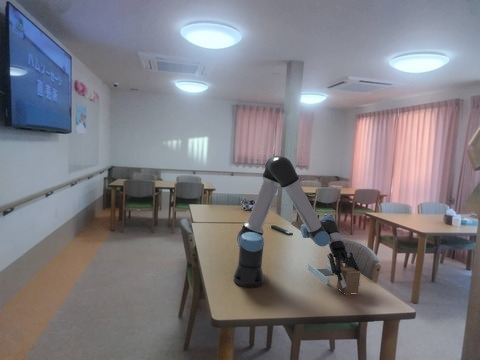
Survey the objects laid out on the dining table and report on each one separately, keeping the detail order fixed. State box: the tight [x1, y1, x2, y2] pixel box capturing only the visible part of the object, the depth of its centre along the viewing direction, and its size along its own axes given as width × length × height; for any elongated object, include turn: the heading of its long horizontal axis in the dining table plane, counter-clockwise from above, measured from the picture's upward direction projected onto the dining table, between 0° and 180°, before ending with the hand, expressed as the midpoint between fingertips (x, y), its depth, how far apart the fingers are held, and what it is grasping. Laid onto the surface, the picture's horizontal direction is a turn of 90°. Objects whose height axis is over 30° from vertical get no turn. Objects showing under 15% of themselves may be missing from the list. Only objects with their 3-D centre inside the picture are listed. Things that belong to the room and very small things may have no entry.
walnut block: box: [336, 267, 361, 294], centre depth 150 cm, size 7×7×11 cm
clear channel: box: [307, 262, 333, 285], centre depth 167 cm, size 20×13×3 cm, turn 17°
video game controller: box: [340, 259, 348, 267], centre depth 181 cm, size 10×5×7 cm, turn 93°
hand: (351, 286), depth 147 cm, fingers closed on walnut block, 7 cm apart
